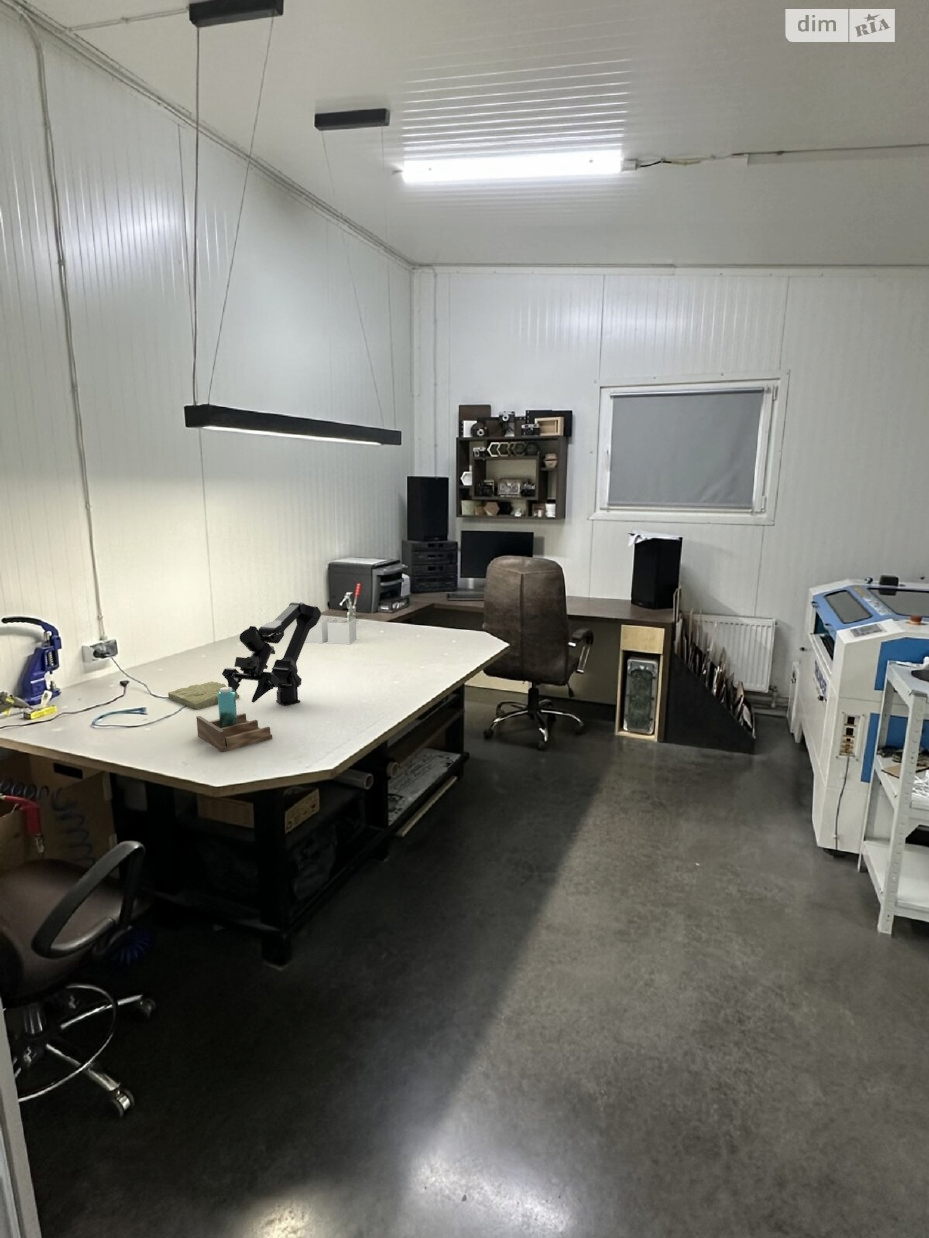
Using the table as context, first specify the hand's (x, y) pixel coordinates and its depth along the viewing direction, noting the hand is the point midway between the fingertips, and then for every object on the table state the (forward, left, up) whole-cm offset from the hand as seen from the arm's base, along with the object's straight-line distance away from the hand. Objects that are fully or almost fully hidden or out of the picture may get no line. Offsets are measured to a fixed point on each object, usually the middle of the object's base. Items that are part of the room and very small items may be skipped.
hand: (240, 700), depth 217 cm
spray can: (+6, +3, -8) cm, 10 cm away
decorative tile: (-3, -38, -9) cm, 39 cm away
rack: (+6, +7, -9) cm, 13 cm away
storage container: (-85, -87, -9) cm, 122 cm away
